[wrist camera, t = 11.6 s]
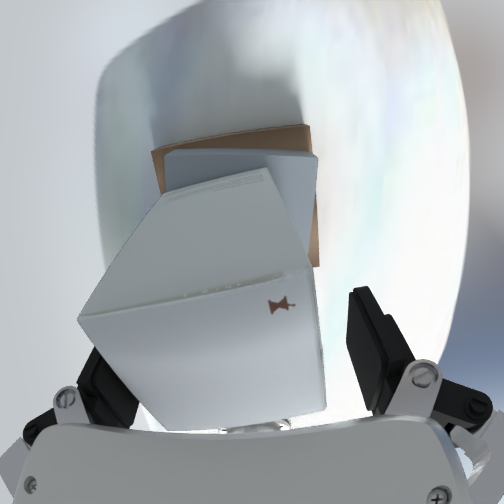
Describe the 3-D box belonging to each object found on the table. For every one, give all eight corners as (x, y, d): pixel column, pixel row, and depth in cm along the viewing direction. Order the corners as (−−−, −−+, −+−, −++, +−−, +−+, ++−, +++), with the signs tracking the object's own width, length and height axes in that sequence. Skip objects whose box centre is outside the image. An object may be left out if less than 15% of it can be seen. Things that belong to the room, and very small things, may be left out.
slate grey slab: (298, 267, 25) (303, 287, 22) (183, 264, 25) (176, 284, 22) (309, 151, 20) (318, 158, 18) (175, 149, 20) (164, 155, 17)
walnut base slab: (313, 250, 28) (319, 266, 25) (191, 265, 28) (186, 282, 26) (302, 123, 22) (309, 125, 19) (162, 146, 23) (151, 151, 20)
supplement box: (159, 191, 18) (66, 313, 7) (269, 164, 18) (323, 263, 7) (192, 282, 22) (163, 434, 11) (288, 262, 21) (331, 414, 10)
